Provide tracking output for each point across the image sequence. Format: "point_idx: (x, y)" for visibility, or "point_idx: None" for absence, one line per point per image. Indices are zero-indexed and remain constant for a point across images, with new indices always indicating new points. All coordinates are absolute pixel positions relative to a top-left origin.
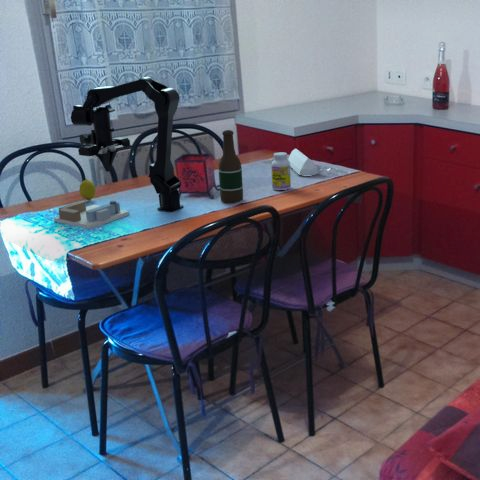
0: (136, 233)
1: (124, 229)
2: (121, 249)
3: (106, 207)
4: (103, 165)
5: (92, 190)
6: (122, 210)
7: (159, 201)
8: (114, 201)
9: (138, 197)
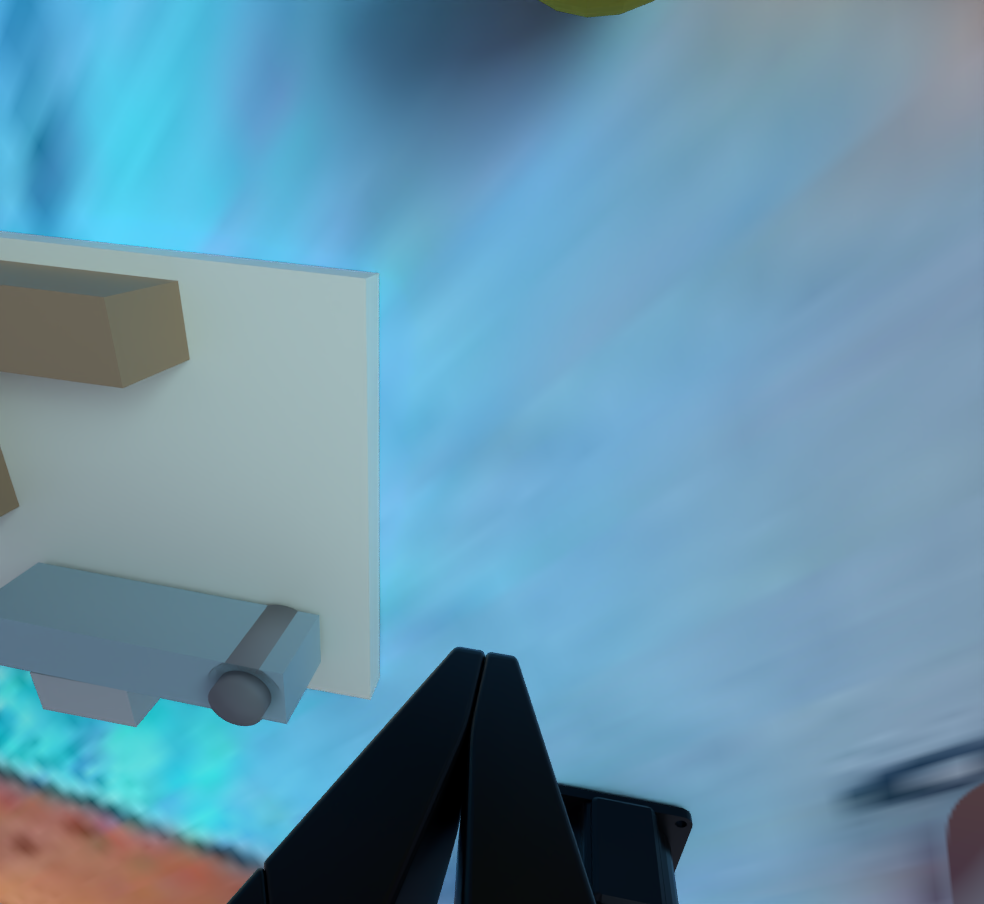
0: (167, 839)
1: (166, 774)
2: (8, 861)
3: (147, 691)
4: (352, 779)
5: (579, 5)
6: (358, 652)
7: (592, 837)
8: (243, 714)
9: (890, 478)
